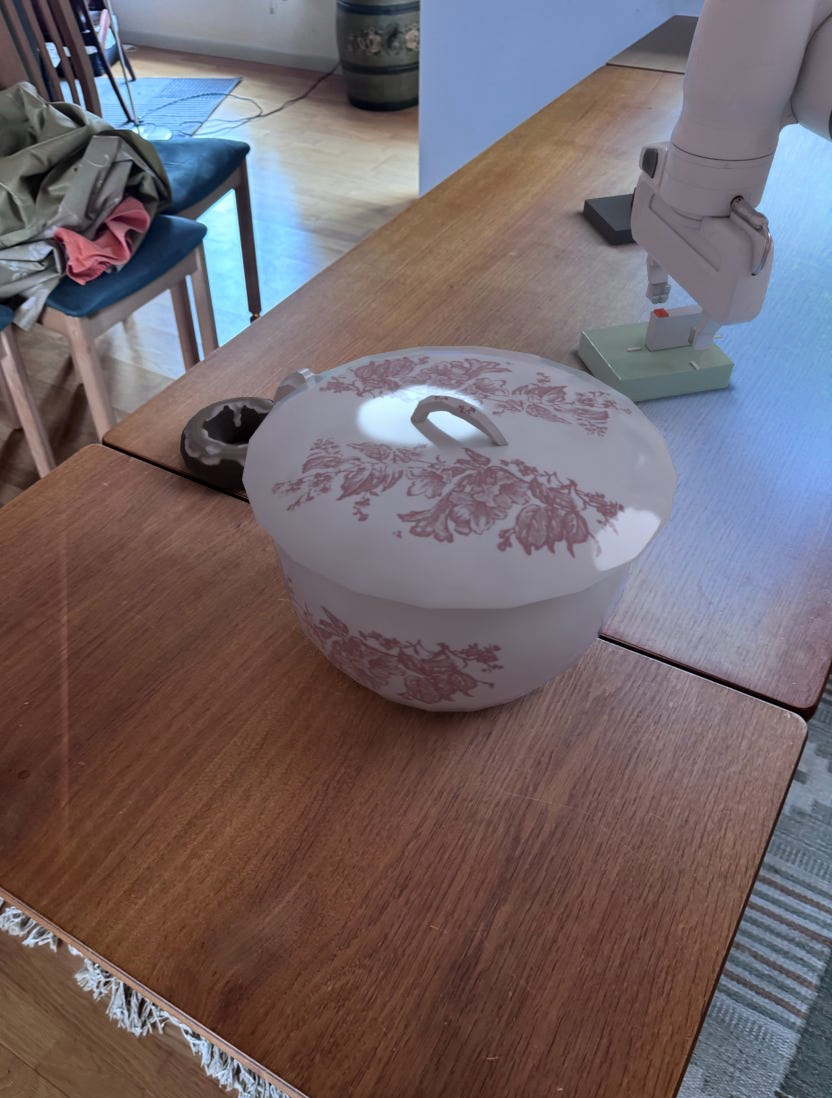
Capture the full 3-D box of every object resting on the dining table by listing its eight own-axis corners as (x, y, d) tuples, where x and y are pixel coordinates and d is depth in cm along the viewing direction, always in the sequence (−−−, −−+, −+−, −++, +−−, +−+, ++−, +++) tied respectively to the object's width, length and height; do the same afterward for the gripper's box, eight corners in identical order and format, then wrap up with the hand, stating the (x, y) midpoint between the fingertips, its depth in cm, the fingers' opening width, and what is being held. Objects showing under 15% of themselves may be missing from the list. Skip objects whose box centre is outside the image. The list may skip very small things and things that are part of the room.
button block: (666, 205, 122) (673, 174, 119) (701, 236, 115) (709, 204, 112) (582, 216, 120) (586, 185, 118) (612, 248, 114) (618, 216, 111)
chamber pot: (674, 765, 61) (769, 530, 46) (268, 796, 61) (228, 568, 45) (576, 504, 80) (620, 276, 65) (266, 525, 79) (237, 300, 64)
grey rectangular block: (698, 335, 93) (707, 300, 90) (705, 343, 92) (715, 308, 89) (643, 343, 92) (651, 308, 90) (650, 351, 91) (658, 316, 89)
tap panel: (690, 339, 98) (697, 311, 96) (737, 389, 92) (746, 360, 89) (576, 356, 97) (581, 328, 94) (615, 408, 90) (621, 379, 88)
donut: (332, 456, 86) (330, 420, 83) (238, 515, 81) (232, 478, 78) (251, 410, 92) (247, 375, 89) (159, 462, 86) (150, 426, 83)
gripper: (810, 220, 74) (758, 372, 84) (694, 134, 88) (661, 273, 98) (739, 229, 73) (695, 381, 83) (633, 141, 87) (606, 281, 97)
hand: (676, 322), depth 91 cm, fingers open, 8 cm apart
